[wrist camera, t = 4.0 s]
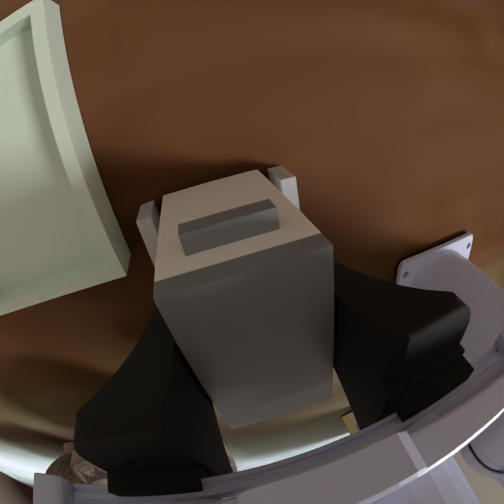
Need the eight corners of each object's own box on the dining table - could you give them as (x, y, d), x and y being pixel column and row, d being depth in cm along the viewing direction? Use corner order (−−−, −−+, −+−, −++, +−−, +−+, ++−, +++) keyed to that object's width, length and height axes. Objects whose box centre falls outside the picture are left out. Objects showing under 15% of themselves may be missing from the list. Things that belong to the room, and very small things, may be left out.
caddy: (280, 296, 15) (331, 397, 10) (208, 318, 15) (231, 429, 10) (254, 155, 11) (331, 220, 6) (158, 182, 11) (141, 275, 5)
